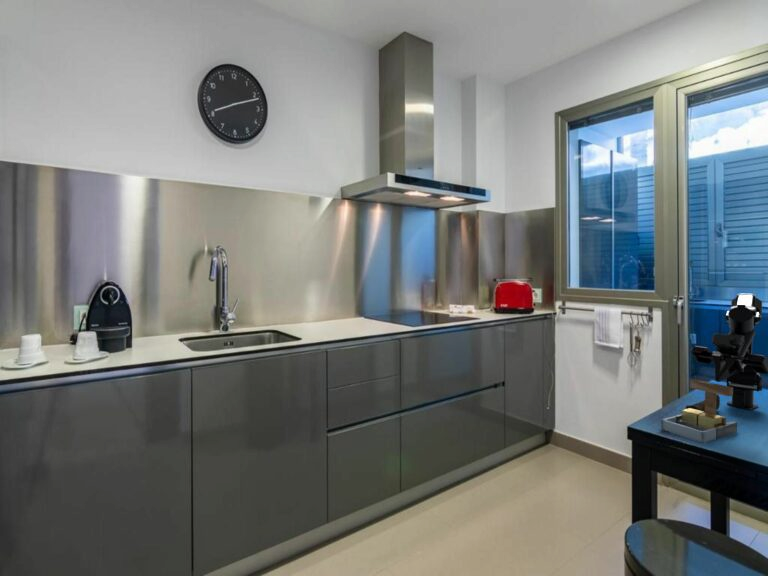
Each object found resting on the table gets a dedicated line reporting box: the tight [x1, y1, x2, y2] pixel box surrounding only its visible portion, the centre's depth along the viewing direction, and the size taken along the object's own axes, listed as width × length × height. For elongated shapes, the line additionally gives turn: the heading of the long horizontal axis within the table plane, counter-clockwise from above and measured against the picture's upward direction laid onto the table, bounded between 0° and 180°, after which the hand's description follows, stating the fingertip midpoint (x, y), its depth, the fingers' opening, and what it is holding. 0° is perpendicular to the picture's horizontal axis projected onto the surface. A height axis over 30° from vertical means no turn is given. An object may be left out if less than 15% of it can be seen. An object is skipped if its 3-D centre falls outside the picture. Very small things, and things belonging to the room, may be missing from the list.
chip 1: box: [681, 408, 705, 424], centre depth 123 cm, size 4×4×3 cm
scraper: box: [689, 378, 733, 425], centre depth 123 cm, size 3×10×11 cm, turn 26°
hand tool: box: [685, 394, 721, 412], centre depth 134 cm, size 19×4×5 cm, turn 119°
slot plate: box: [674, 413, 738, 440], centre depth 122 cm, size 10×11×3 cm
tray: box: [660, 415, 717, 444], centre depth 119 cm, size 6×11×3 cm, turn 25°
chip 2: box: [698, 413, 723, 429], centre depth 119 cm, size 4×4×3 cm
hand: (717, 380), depth 124 cm, fingers closed
